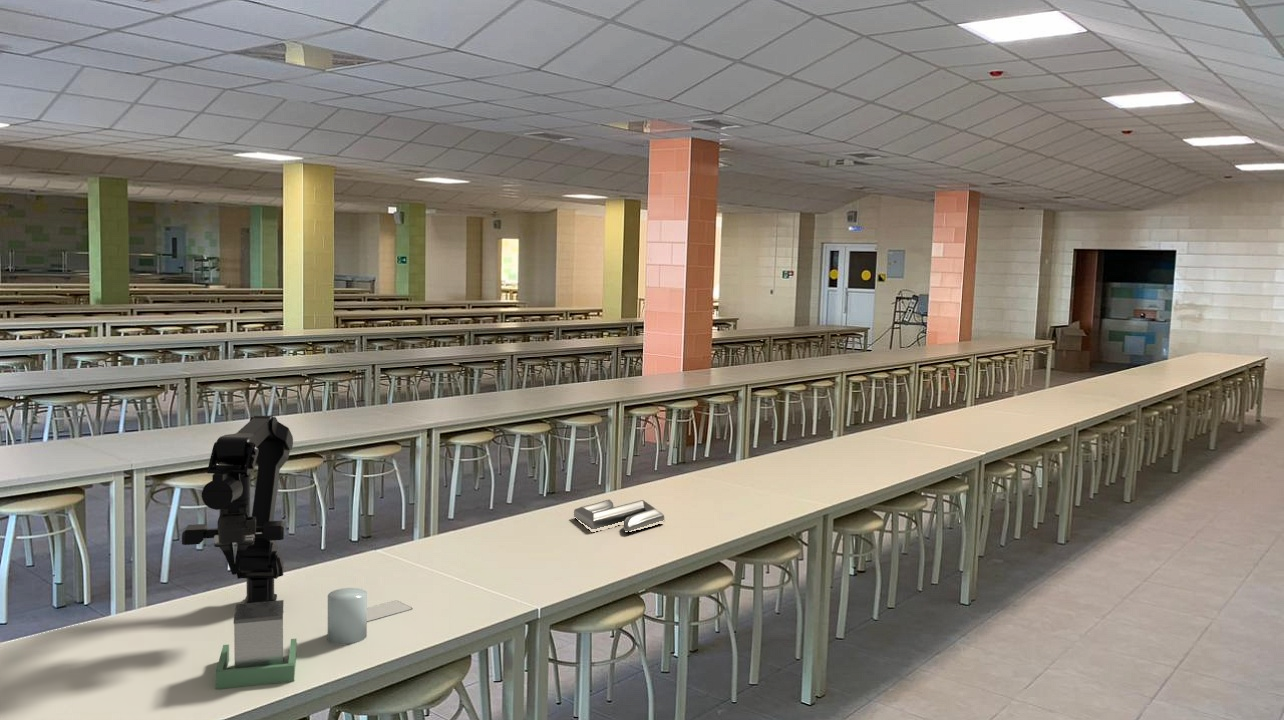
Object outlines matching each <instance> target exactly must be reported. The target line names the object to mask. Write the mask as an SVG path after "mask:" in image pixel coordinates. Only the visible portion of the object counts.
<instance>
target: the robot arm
mask: <svg viewBox="0 0 1284 720" xmlns="http://www.w3.org/2000/svg"><path fill="white" fill-rule="evenodd" d="M293 446H294V437H293V434H292V431H291V429H290V428H289V427H288V426H286V425H285V424H283V423H281V422H280V421H278V419H277V417H276V416H273V415H262V414H261V415H258V414H257V415H256V414H255V415H253V416H251V417H250V419H249V421H248V422H247V423H246V424H245V425H244V426H243V427H241V429H239V430H238V431H237V432H235V433H230V434H224V435H222V436H219V437H218V438H217V440H216V442H214V443H213V446H212V449H211V454H210V457H209V462H208V466H207V471H206V473H207V474H211V475H212V479H211V480H212V481H209V482H207V483H206V484H205V485H204V487H203V489H202V491H201V500H202V502H203V503H204V505H205V506H206V507H208V508H209V509H211V510H217V511H218V512H219V517H218V520H217V527H216V528H214V527H213V528H208V526H207V523H203V524H202V523H201V524H200V523H199V524H188V525H187V526H185V528H184V529H183V531H182V533H181V545H183V546H189V545H191V546H192V545H194V546H195V545H200V544H202V542H203V541H204V539H213V541H214V543H213V547H214V548H219V549H220V550H221V551H222V553H223V555H224V556H225V559H226V561H227V565H228V568H229V570H230V573H231V575H235V576H237V577H236V579H239V580H240V579H245V580H246V581H245V582H246V583H245V584H246V596H245V598H244V602H243V603H255V602H267V601H277V599H278V594H277V593H275V580H276V579H278V578H279V577H283V576H284V561H283V558H282V557H281V554H280V553H279V550H278V549H279V545H278V543H277V541H283V540H284V539H285V523H284V521H282V520H274V518H275V510H276V505H277V504H276V502H277V495H278V494H277V493H278V485H279V477H280V470H281V468H282V467H283V466H284V465H285V464H286V463H287V461H288V460H289V458H290V453H291V451H292V449H293ZM256 464H257V471H256V472H257V474H256V480H255V481H256V483H255V490H254V495H253V496H254V497H253V502H252V511H251V472H252V470H254V469H255V465H256ZM235 543H236V544H237V547H236V553H234V552H235V551H234V544H235Z"/></svg>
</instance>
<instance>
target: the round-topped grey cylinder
mask: <svg viewBox="0 0 1284 720" xmlns="http://www.w3.org/2000/svg"><path fill="white" fill-rule="evenodd" d="M367 608H368V592H367V590H365V589H363V588H359V587H343V588H339V589H338V588H337V589H335V590H332V591H330V592H329V593H328V594H327V641H328V642H329V643H331V644H333V643H334V645H340V644H346V645H352V644H357V643H360V642H362V641H364V640H365V639H367V636H368V634H367V633H368V631H367V627H368V622H367Z"/></svg>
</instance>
